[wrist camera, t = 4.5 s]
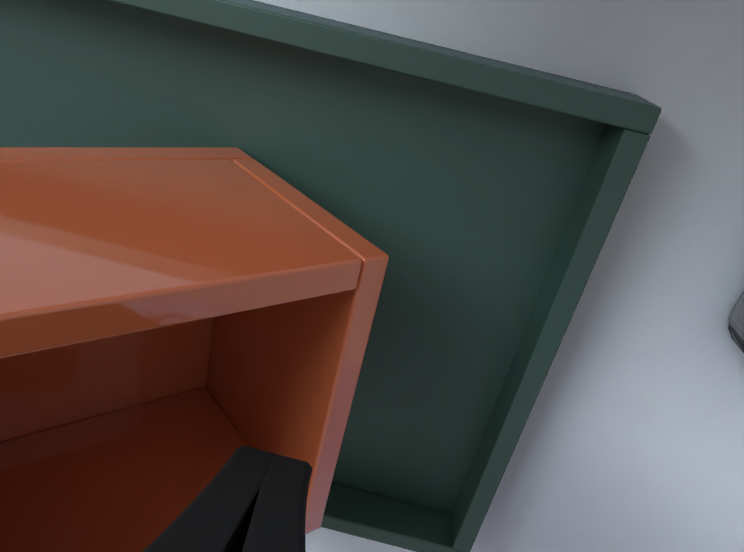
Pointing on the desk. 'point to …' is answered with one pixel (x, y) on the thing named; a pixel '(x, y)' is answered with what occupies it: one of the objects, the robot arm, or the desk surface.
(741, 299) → the phone
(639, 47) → the desk surface
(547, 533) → the desk surface
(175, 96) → the tray
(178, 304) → the planter
